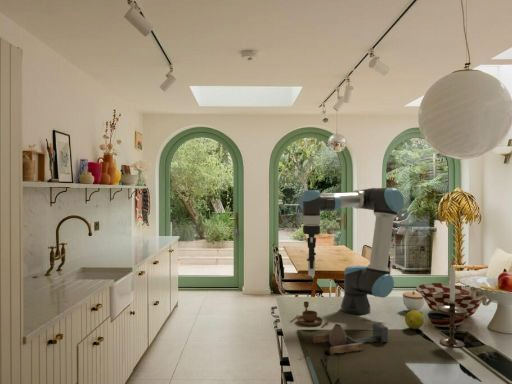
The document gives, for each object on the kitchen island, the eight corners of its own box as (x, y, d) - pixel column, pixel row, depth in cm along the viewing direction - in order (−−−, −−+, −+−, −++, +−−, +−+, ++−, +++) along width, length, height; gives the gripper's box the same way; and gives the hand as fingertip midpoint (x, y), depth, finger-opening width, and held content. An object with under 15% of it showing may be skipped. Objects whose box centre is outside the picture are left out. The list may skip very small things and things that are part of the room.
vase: (336, 351, 163) (336, 328, 163) (325, 345, 169) (325, 323, 169) (350, 348, 166) (350, 326, 166) (339, 342, 173) (339, 321, 172)
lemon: (411, 323, 197) (411, 306, 197) (427, 327, 191) (427, 310, 191) (400, 329, 189) (400, 311, 189) (417, 333, 184) (417, 315, 184)
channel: (343, 338, 177) (343, 331, 177) (363, 351, 163) (363, 343, 163) (313, 342, 172) (313, 335, 172) (331, 356, 159) (331, 348, 159)
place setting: (287, 323, 199) (287, 310, 199) (303, 312, 216) (303, 300, 216) (322, 329, 190) (322, 316, 190) (336, 317, 208) (336, 305, 208)
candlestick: (441, 337, 179) (442, 255, 178) (469, 344, 172) (470, 257, 171) (433, 345, 170) (434, 258, 170) (462, 351, 163) (463, 261, 163)
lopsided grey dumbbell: (376, 336, 180) (376, 322, 179) (390, 343, 171) (390, 328, 171) (343, 340, 174) (343, 326, 174) (355, 348, 165) (356, 333, 165)
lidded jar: (426, 308, 223) (426, 290, 223) (422, 313, 214) (422, 294, 214) (405, 305, 228) (405, 287, 228) (400, 310, 219) (400, 292, 219)
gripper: (303, 222, 201) (303, 267, 201) (302, 227, 176) (302, 278, 176) (319, 222, 200) (319, 267, 200) (320, 227, 175) (320, 279, 175)
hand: (311, 272), depth 188 cm, fingers open, 13 cm apart
